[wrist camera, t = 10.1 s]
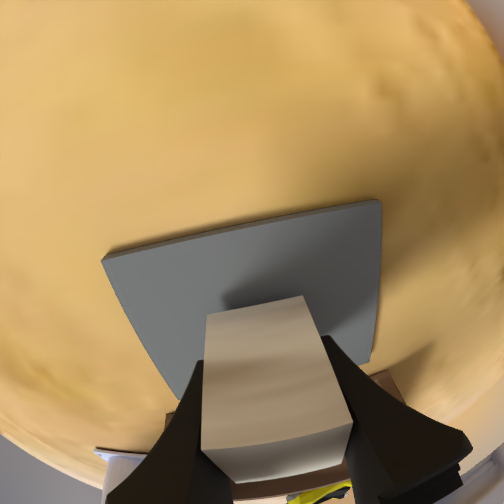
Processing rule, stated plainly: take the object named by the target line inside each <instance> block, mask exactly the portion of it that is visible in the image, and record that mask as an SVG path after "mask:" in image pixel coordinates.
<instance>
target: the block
mask: <svg viewBox="0 0 504 504" xmlns="http://www.w3.org/2000/svg"><path fill="white" fill-rule="evenodd" d="M352 425H353V420H352V418H351V415H350V412H349V410H348V407H347V404H346V402H345V399H344V397H343V394H342V391H341V389H340V386H339V384H338V381H337V378H336V376H335V373H334V371H333V368H332V366H331V363H330V361H329V358H328V356H327V353H326V351H325V348H324V346H323V343H322V341H321V338H320V336H319V333H318V331H317V328H316V326H315V324H314V321H313V319H312V316H311V314H310V312H309V309H308V307H307V304H306V302H305V300H304V297H303V295H301V296H297V297H292V298H288V299H283V300H279V301H274V302H269V303H264V304H259V305H254V306H249V307H244V308H239V309H234V310H229V311H223V312H218V313H212V314H207V320H206V335H205V351H204V370H203V392H202V424H201V450H202V451H203V452H204V453H205V454H206V455H207V456H208V457H209V458H210V459H211V460H212V461H213V462H214V463H215V464H216V465H217V466H218V467H219V468H220V469H221V470H222V471H223V472H224V473H225V474H226V475H227V476H228V477H229V478H231V479H232V480H233V481H234V482H235V483H245V482H255V481H263V480H270V479H276V478H282V477H288V476H293V475H298V474H303V473H307V472H312V471H316V470H320V469H324V468H328V467H331V466H335V465H338V464H341V463H342V460H343V456H344V453H345V450H346V446H347V443H348V439H349V436H350V432H351V428H352Z"/></svg>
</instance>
